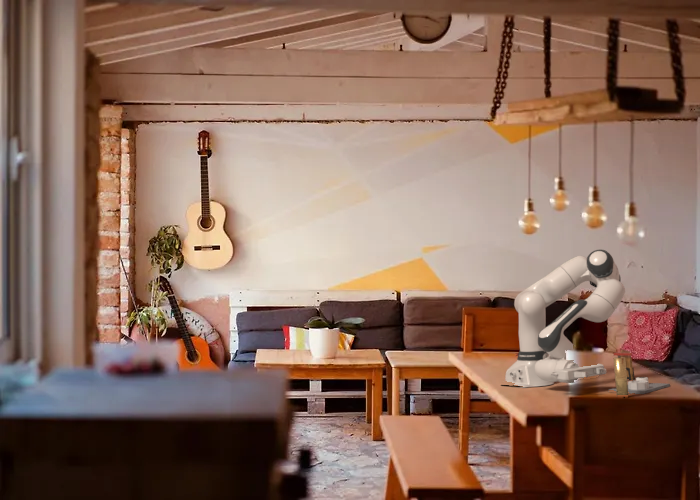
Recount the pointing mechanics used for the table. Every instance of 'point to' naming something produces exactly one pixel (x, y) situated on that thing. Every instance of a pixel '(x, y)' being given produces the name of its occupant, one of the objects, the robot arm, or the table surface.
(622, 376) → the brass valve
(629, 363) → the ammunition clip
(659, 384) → the coupling board
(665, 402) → the table surface
